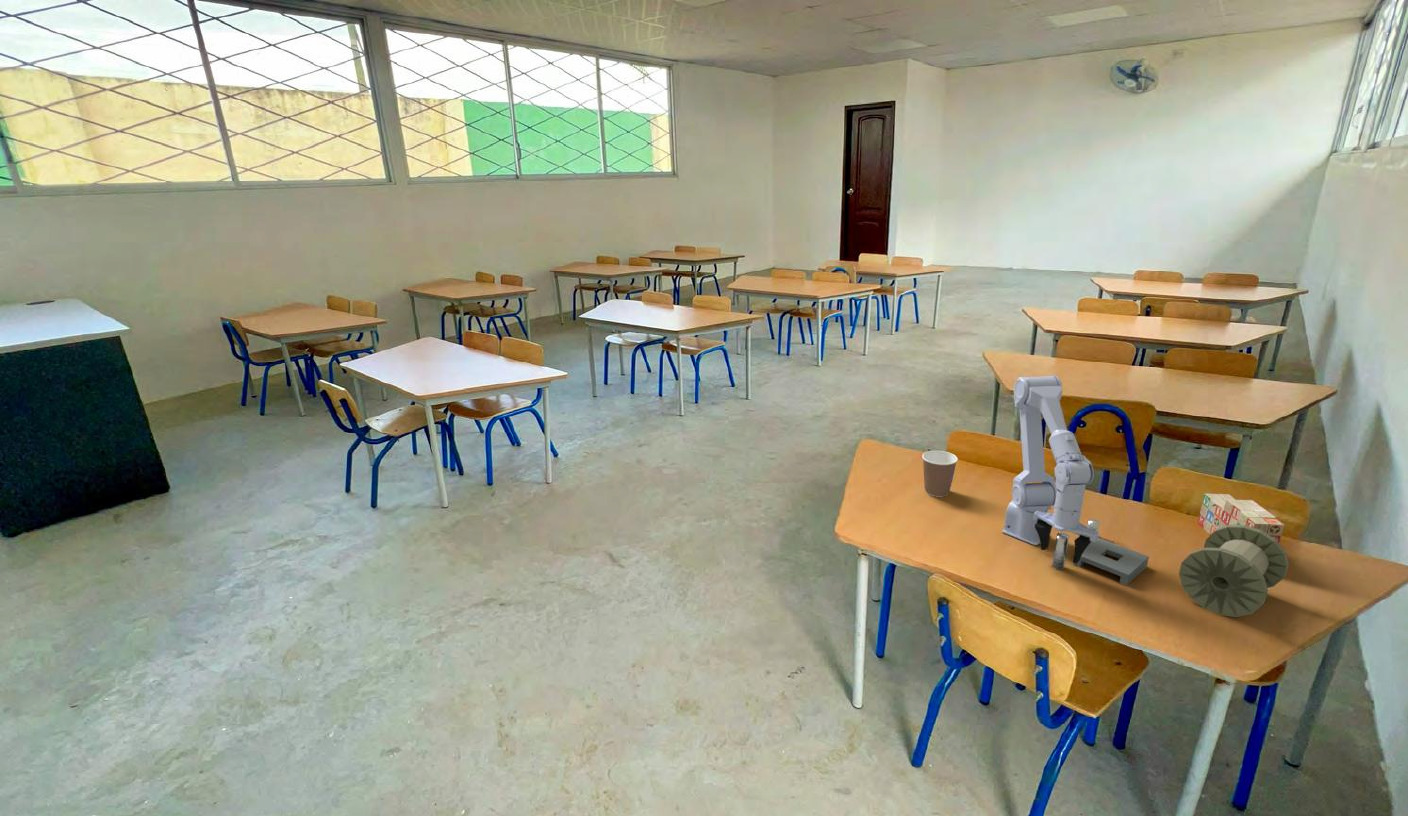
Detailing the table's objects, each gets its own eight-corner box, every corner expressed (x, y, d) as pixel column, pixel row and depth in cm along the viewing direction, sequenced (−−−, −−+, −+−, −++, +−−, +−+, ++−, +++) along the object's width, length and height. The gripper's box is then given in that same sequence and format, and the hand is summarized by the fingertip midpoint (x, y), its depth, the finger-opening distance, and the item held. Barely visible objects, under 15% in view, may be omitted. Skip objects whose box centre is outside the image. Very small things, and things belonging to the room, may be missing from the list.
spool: (1200, 569, 157) (1213, 515, 152) (1278, 598, 146) (1296, 541, 141) (1173, 596, 148) (1187, 539, 143) (1254, 629, 136) (1272, 568, 131)
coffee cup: (959, 499, 195) (963, 463, 191) (925, 500, 195) (928, 464, 191) (947, 484, 205) (950, 449, 201) (915, 485, 205) (917, 451, 201)
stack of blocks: (1196, 523, 177) (1206, 483, 173) (1221, 524, 176) (1232, 484, 172) (1243, 566, 157) (1255, 522, 153) (1272, 568, 156) (1285, 524, 152)
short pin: (1084, 535, 173) (1086, 521, 172) (1088, 532, 175) (1091, 518, 173) (1094, 539, 171) (1097, 525, 170) (1098, 536, 173) (1101, 521, 171)
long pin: (1050, 566, 161) (1055, 535, 158) (1055, 562, 162) (1060, 531, 159) (1060, 571, 159) (1066, 539, 156) (1065, 567, 160) (1071, 535, 157)
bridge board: (1073, 564, 161) (1075, 553, 160) (1094, 547, 168) (1096, 537, 167) (1126, 585, 152) (1128, 575, 151) (1146, 566, 159) (1149, 556, 158)
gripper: (1029, 501, 158) (1023, 548, 162) (1092, 523, 147) (1083, 573, 151) (1044, 492, 162) (1036, 539, 166) (1106, 513, 151) (1096, 562, 155)
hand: (1059, 555), depth 159 cm, fingers open, 7 cm apart
